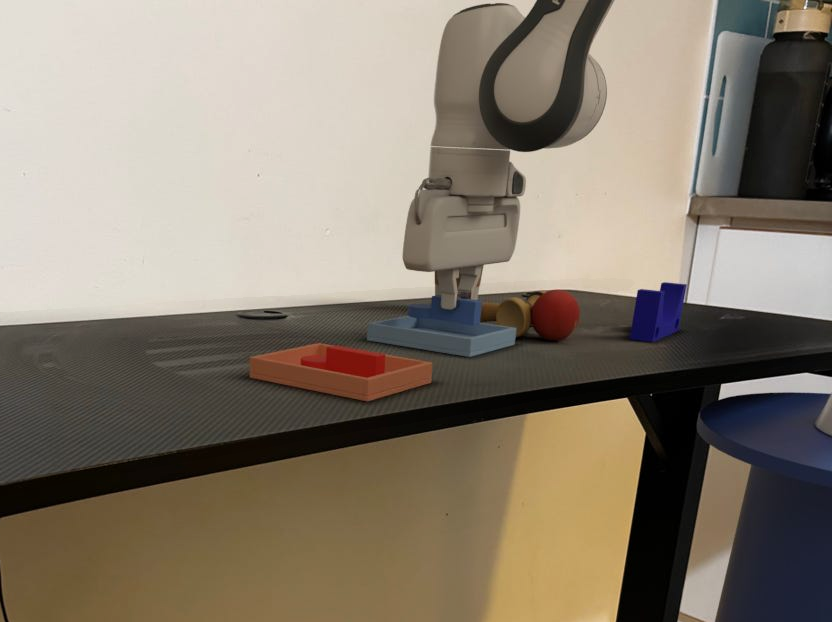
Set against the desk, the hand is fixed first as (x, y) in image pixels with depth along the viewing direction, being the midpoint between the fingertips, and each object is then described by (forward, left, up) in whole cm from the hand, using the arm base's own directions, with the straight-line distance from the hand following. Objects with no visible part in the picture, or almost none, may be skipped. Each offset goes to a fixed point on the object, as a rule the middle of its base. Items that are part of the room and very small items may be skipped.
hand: (456, 307), depth 114 cm
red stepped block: (-2, +26, -4) cm, 26 cm away
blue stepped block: (+2, 0, -2) cm, 2 cm away
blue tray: (+2, 0, -4) cm, 5 cm away
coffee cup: (+14, -24, -4) cm, 28 cm away
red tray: (-2, +26, -4) cm, 27 cm away
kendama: (-1, -13, -5) cm, 14 cm away
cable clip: (-14, -27, -4) cm, 31 cm away
